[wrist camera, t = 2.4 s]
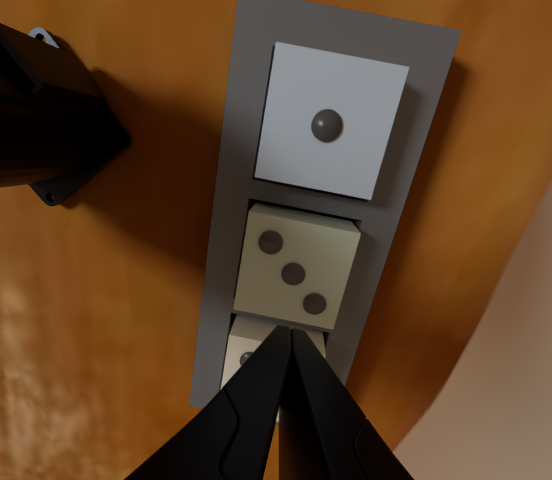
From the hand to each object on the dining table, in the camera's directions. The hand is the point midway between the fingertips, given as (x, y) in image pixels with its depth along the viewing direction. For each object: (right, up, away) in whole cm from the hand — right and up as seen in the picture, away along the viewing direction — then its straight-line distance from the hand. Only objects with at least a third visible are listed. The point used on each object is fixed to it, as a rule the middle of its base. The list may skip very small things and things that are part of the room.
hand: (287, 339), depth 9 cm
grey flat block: (+1, +3, +8) cm, 9 cm away
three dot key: (+1, +2, +7) cm, 7 cm away
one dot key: (+2, +8, +5) cm, 10 cm away
